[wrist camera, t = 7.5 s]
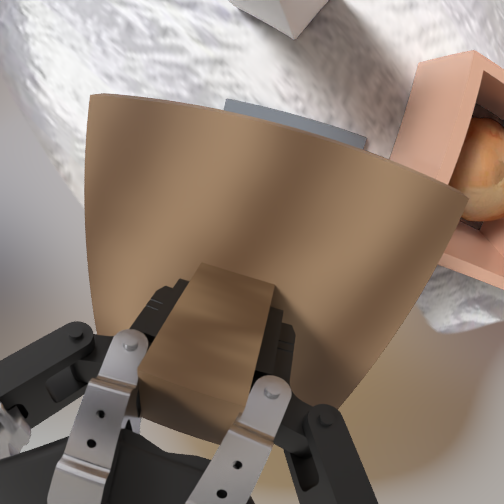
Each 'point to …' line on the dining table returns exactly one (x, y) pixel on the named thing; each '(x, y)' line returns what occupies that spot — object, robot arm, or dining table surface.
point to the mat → (295, 122)
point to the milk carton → (283, 13)
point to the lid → (251, 251)
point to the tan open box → (454, 147)
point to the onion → (481, 170)
